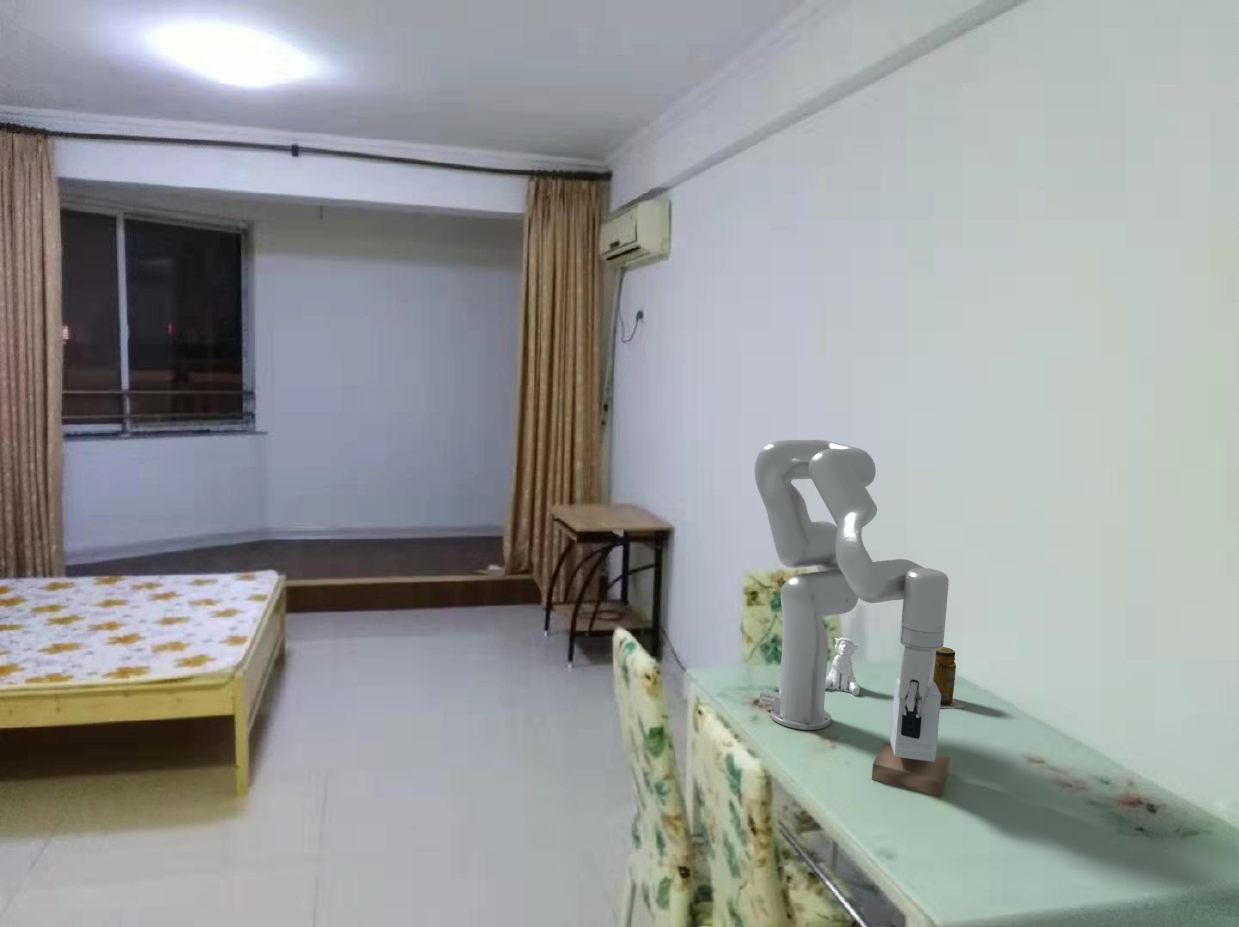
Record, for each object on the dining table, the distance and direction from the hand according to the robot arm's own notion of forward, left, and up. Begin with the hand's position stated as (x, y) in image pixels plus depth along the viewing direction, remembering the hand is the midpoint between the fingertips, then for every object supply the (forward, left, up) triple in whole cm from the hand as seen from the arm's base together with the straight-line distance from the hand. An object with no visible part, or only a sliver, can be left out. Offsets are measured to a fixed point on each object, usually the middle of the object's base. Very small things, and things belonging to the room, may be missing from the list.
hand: (914, 727), depth 162 cm
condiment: (0, +43, -10) cm, 44 cm away
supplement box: (0, 0, -5) cm, 5 cm away
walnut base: (0, 0, -9) cm, 9 cm away
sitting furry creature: (-22, +39, -10) cm, 46 cm away
